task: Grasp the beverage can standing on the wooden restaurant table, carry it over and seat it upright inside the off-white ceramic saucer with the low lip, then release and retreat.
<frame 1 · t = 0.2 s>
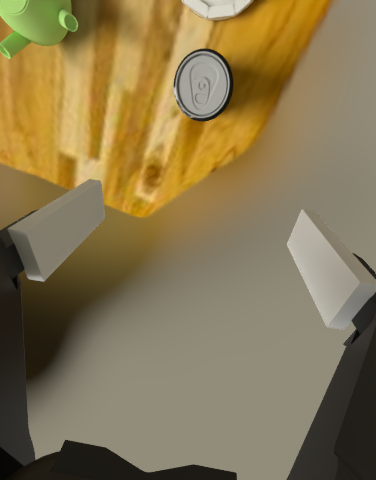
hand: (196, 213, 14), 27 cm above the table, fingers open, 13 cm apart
teapot: (52, 7, 30), on the table
beverage can: (206, 91, 33), on the table
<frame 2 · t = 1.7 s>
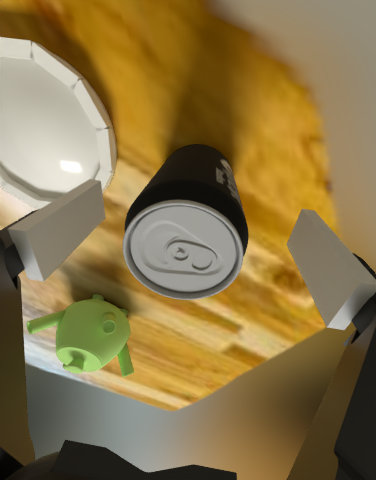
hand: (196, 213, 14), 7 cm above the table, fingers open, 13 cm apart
teapot: (107, 308, 32), on the table
saucer: (46, 138, 19), on the table
beverage can: (197, 179, 20), on the table
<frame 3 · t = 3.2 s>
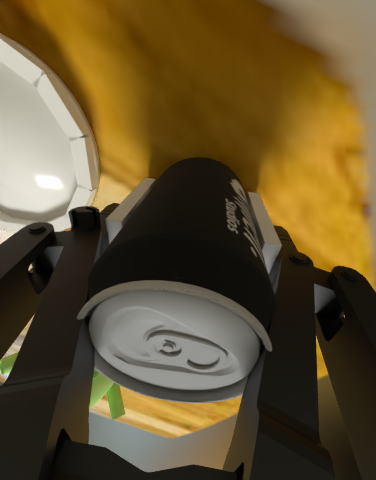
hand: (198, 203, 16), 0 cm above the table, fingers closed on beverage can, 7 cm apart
teapot: (96, 336, 28), on the table
saucer: (13, 148, 16), on the table
beverage can: (199, 199, 16), on the table, touching gripper
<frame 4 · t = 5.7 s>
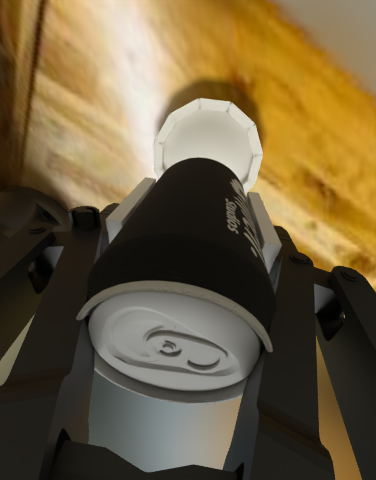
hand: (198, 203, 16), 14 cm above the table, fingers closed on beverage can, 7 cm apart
saucer: (206, 159, 28), on the table
beverage can: (199, 199, 16), point 14 cm above the table, touching gripper
when the fingers open (3 cm above the table, at t = 8.3 s): beverage can drops 2 cm, resting on saucer.
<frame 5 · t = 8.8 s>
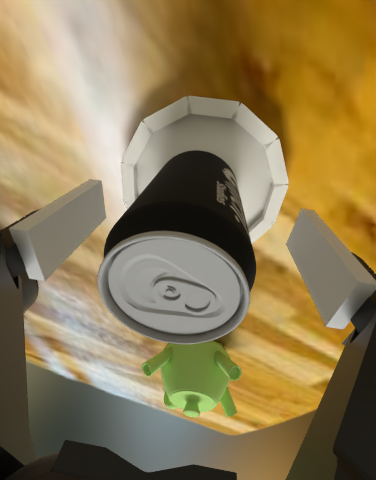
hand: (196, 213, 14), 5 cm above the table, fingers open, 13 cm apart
teapot: (200, 341, 31), on the table
saucer: (201, 187, 19), on the table
beverage can: (197, 189, 18), point 1 cm above the table, touching saucer
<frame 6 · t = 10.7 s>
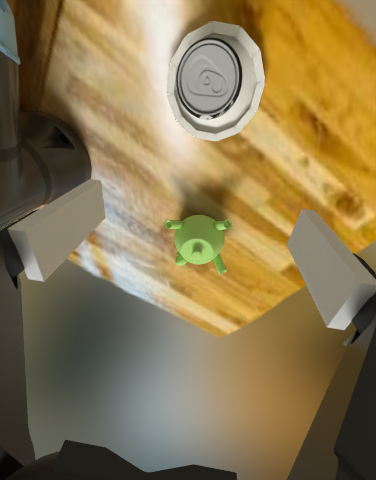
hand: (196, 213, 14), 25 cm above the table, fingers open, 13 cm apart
teapot: (203, 228, 44), on the table
saucer: (214, 88, 31), on the table
beverage can: (211, 88, 30), point 1 cm above the table, touching saucer
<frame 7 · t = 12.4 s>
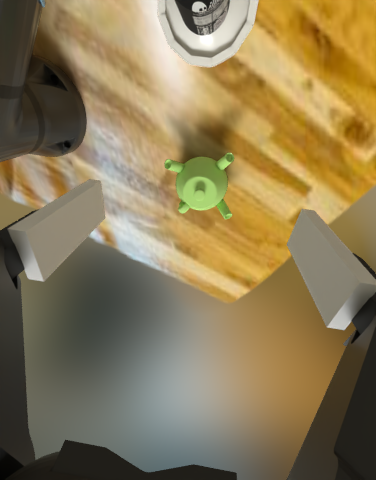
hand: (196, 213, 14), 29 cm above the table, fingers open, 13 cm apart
teapot: (205, 176, 42), on the table
saucer: (207, 6, 29), on the table
beverage can: (204, 4, 29), point 1 cm above the table, touching saucer
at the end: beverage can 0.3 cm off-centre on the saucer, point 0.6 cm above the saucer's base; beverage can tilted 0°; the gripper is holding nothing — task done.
